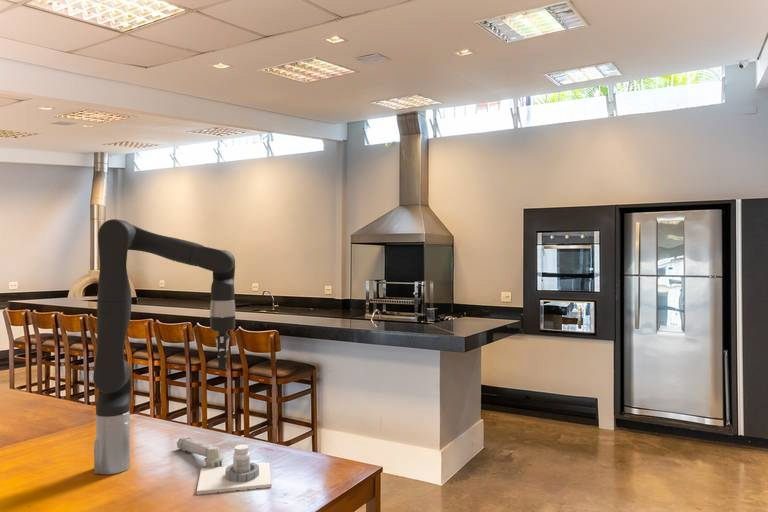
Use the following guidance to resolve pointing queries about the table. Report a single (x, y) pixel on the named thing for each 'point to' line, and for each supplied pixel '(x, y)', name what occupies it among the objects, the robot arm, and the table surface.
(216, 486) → the collar plate
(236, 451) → the pill bottle
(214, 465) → the rod with end cap
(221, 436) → the table surface
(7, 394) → the table surface
